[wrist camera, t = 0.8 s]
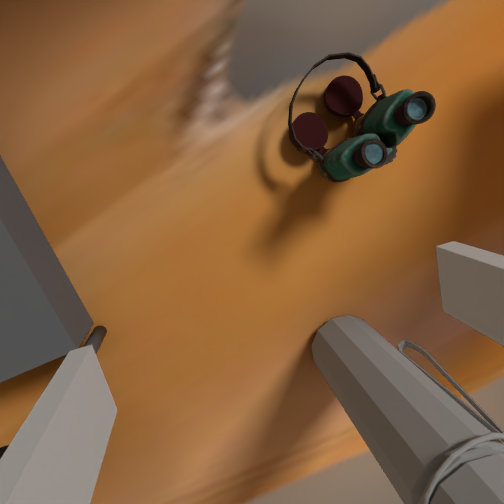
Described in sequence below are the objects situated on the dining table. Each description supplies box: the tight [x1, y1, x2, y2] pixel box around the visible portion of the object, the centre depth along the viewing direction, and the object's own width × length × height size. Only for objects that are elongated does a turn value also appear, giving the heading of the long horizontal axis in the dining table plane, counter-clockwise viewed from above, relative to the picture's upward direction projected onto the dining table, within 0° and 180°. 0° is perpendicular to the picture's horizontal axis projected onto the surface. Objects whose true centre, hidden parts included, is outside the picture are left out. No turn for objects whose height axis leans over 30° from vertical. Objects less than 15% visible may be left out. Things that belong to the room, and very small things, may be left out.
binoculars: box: [288, 53, 436, 182], centre depth 31 cm, size 9×11×10 cm
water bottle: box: [311, 315, 504, 504], centre depth 29 cm, size 9×8×25 cm
